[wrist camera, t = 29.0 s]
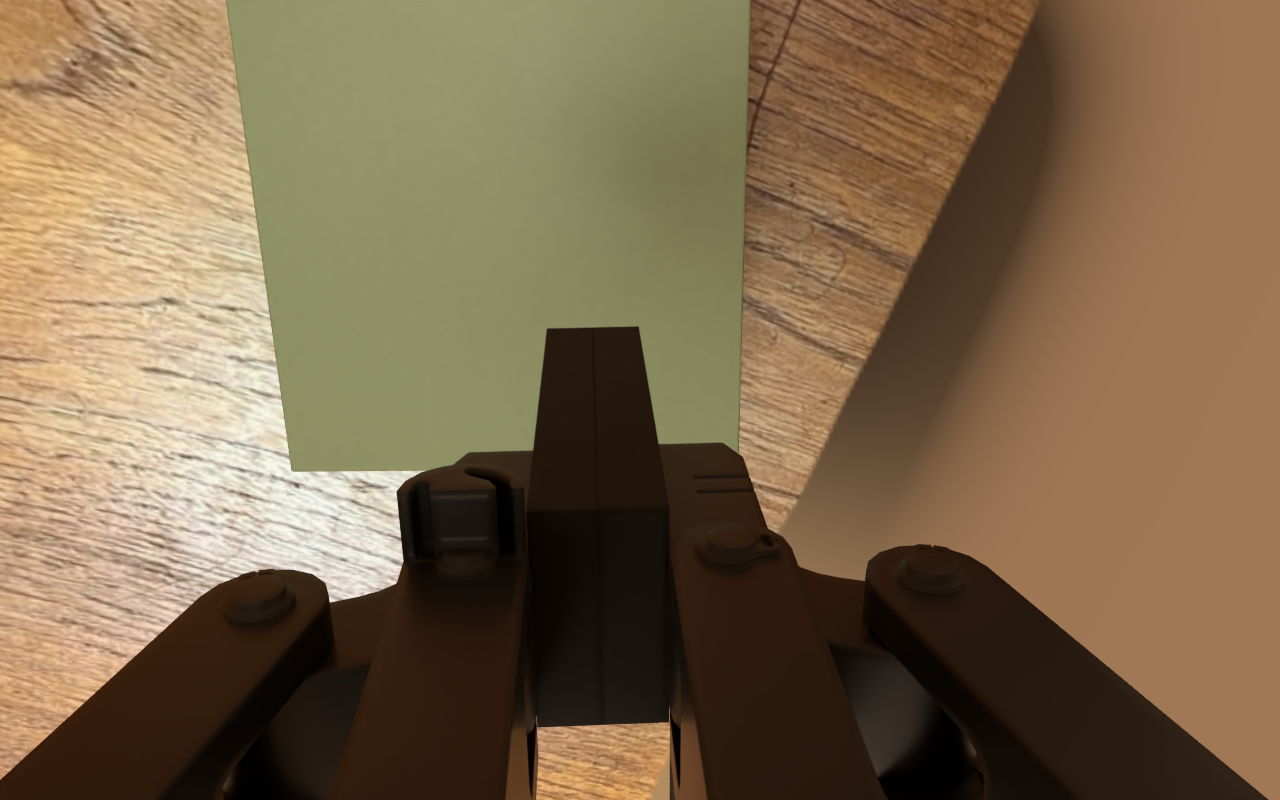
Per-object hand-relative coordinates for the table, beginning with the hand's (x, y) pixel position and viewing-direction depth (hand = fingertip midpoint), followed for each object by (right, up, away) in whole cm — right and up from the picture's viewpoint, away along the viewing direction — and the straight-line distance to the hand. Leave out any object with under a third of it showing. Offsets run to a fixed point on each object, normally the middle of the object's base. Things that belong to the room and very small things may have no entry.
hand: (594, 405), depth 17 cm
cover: (-3, +5, +14) cm, 15 cm away
